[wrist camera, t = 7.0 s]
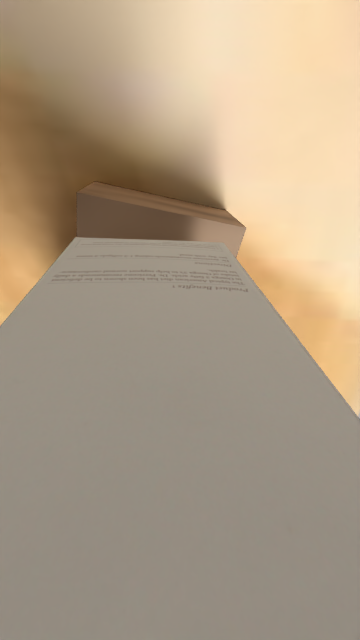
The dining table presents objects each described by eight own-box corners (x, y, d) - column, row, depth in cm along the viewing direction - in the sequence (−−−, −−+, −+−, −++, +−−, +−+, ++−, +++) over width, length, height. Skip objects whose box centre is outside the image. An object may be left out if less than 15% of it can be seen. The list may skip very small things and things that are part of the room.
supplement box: (91, 356, 16) (-33, 766, 5) (72, 232, 12) (-599, 930, 1) (210, 356, 17) (306, 711, 6) (230, 240, 13) (618, 706, 2)
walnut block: (95, 180, 17) (76, 192, 13) (225, 209, 19) (246, 227, 14) (91, 300, 22) (76, 336, 18) (195, 314, 23) (204, 350, 19)
